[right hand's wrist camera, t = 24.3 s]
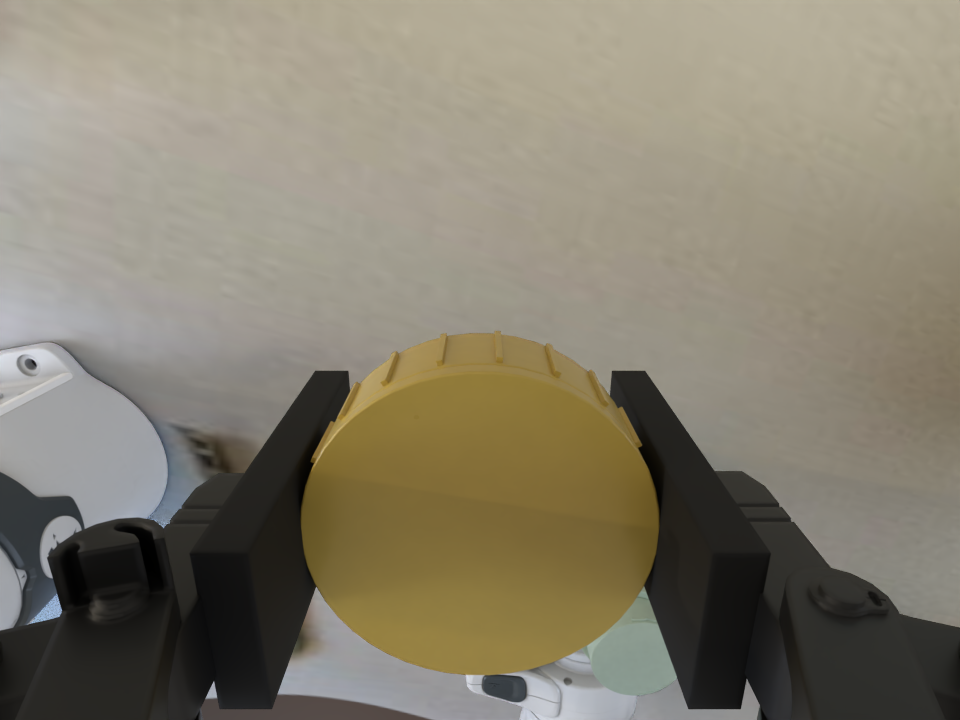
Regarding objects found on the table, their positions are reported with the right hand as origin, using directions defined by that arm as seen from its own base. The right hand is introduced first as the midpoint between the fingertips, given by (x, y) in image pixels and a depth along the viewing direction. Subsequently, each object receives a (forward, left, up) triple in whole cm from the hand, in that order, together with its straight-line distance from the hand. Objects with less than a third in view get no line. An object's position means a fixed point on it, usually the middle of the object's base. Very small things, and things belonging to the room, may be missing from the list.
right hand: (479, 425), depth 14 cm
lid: (0, 0, +4) cm, 4 cm away
